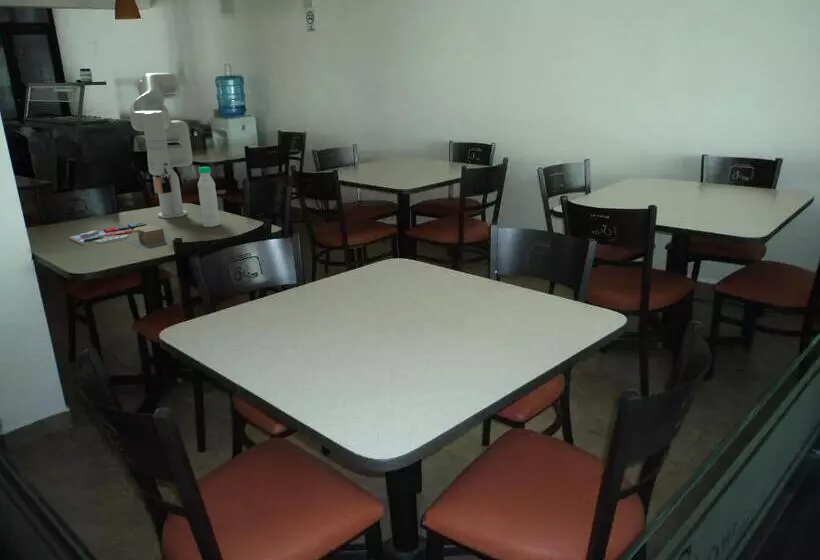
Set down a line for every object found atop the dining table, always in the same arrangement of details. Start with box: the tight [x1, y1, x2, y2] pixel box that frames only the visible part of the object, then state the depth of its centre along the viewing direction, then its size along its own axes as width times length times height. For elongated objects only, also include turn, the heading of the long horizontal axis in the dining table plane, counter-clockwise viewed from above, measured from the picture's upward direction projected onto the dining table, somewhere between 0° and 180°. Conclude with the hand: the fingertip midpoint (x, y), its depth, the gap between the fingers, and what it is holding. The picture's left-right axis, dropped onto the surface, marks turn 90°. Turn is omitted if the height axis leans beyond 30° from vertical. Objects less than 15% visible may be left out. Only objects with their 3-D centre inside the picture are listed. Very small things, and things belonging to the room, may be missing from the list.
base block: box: [137, 225, 165, 245], centre depth 237 cm, size 7×7×5 cm
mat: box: [127, 235, 174, 249], centre depth 238 cm, size 14×14×1 cm
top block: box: [152, 176, 173, 194], centre depth 243 cm, size 5×5×6 cm
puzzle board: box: [69, 222, 152, 248], centre depth 250 cm, size 30×23×3 cm
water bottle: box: [197, 166, 221, 228], centre depth 260 cm, size 7×7×25 cm
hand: (163, 191), depth 243 cm, fingers closed on top block, 4 cm apart
